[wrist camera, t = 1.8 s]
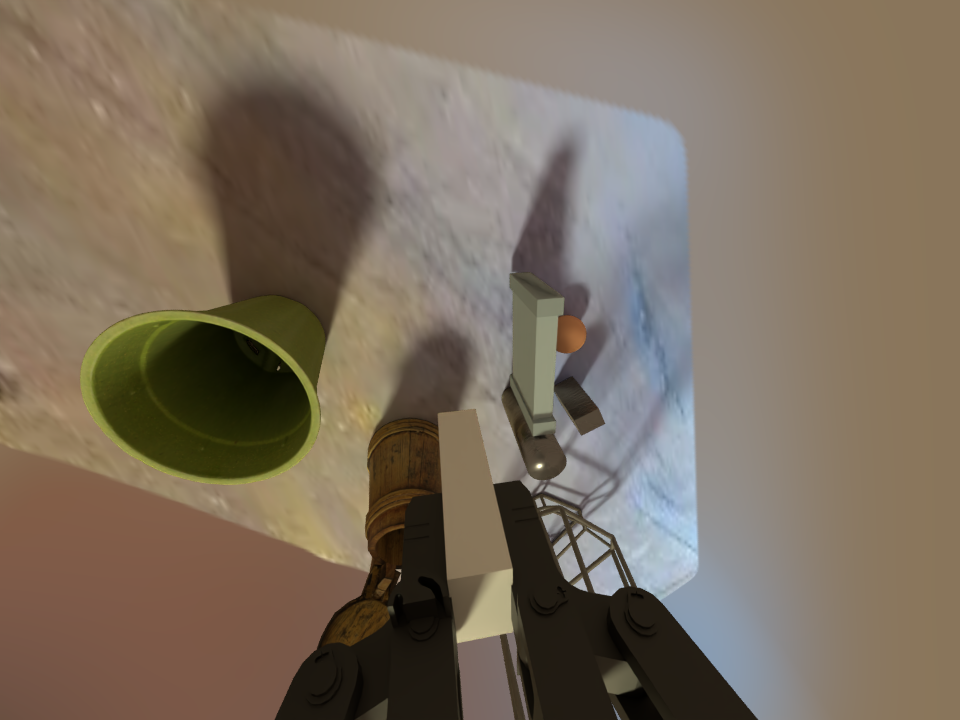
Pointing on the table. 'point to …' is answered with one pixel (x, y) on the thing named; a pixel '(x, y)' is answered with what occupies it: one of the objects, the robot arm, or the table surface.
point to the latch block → (578, 406)
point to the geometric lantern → (579, 519)
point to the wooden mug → (388, 520)
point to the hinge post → (533, 443)
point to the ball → (570, 334)
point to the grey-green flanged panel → (535, 349)
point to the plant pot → (210, 388)
